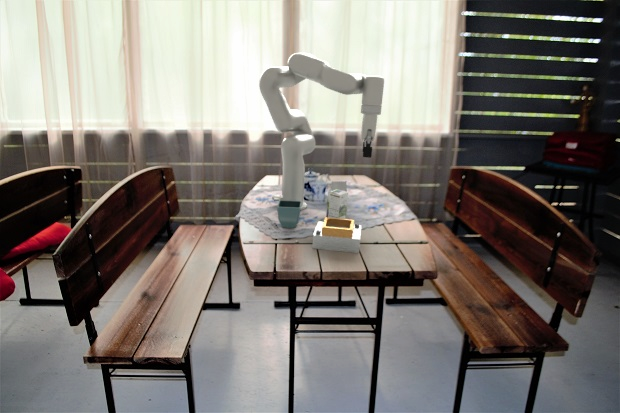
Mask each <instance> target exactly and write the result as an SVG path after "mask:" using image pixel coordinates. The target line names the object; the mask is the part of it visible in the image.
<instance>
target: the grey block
mask: <svg viewBox="0 0 620 413" xmlns="http://www.w3.org/2000/svg"><path fill="white" fill-rule="evenodd" d="M347 186H348V185H347V181H346V180H332V181H331V184H330V191H333V190H336V189H338V190H343V191H346V192H348V188H347ZM330 191H329V192H330Z"/></svg>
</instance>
